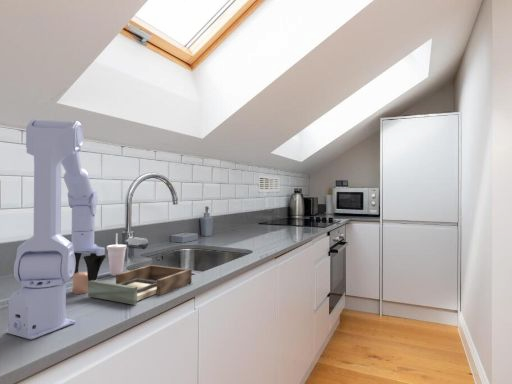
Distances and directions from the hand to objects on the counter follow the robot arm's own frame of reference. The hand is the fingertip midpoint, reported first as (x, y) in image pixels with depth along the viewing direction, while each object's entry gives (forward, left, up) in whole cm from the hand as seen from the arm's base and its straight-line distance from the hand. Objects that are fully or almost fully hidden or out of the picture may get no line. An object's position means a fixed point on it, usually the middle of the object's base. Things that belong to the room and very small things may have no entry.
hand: (82, 279), depth 95 cm
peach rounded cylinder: (0, 0, -3) cm, 3 cm away
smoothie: (+19, +7, -4) cm, 20 cm away
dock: (+13, -14, -3) cm, 19 cm away
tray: (+4, -14, -3) cm, 15 cm away
